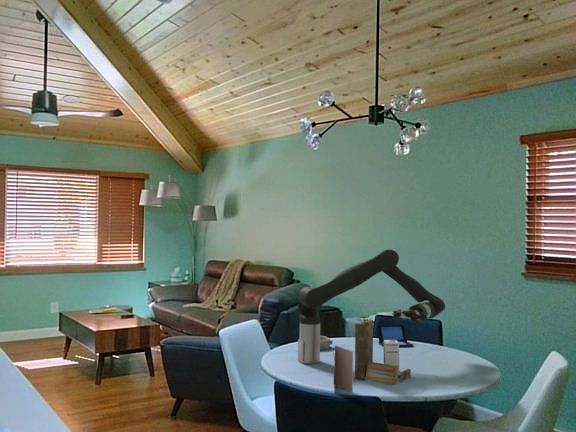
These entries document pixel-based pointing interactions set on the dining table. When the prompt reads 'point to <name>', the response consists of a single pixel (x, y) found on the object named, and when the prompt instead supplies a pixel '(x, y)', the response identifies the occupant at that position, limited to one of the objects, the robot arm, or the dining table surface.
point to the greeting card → (343, 368)
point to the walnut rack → (367, 351)
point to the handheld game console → (393, 334)
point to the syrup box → (391, 352)
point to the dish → (325, 342)
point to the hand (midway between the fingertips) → (403, 317)
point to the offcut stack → (382, 373)
